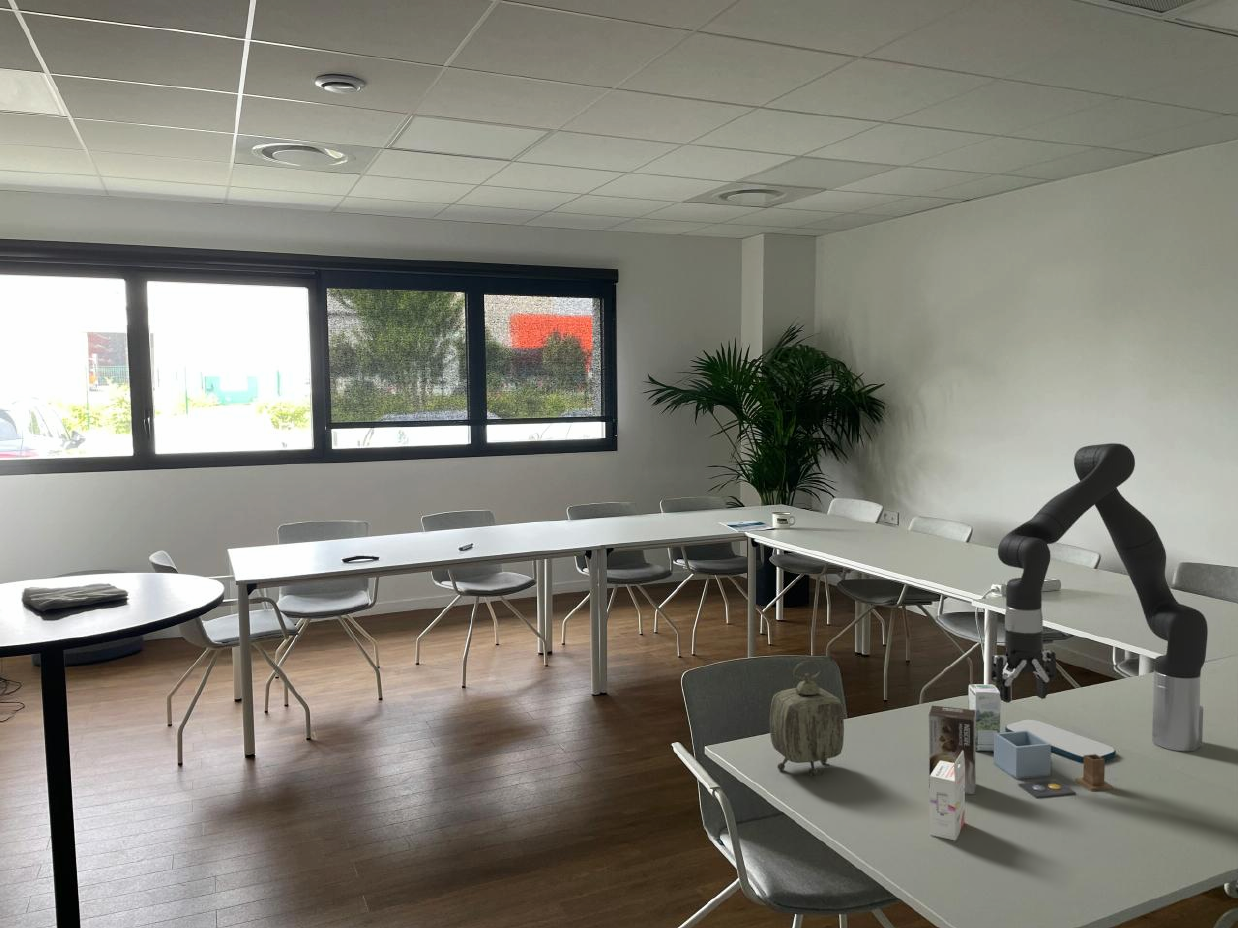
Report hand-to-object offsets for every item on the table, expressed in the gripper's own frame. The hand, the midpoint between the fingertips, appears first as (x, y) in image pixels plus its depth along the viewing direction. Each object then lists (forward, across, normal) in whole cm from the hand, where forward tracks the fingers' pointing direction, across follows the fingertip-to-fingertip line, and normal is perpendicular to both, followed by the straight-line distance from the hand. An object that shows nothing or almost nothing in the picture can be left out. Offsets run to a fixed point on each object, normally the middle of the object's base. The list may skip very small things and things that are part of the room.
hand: (1023, 699), depth 194 cm
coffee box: (+16, +19, +4) cm, 25 cm away
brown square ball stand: (+16, -10, +10) cm, 21 cm away
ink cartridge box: (+16, +30, +21) cm, 40 cm away
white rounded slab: (+17, -17, -11) cm, 26 cm away
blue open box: (+16, 0, 0) cm, 16 cm away
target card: (+16, +1, +10) cm, 19 cm away
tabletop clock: (+15, +46, -10) cm, 50 cm away
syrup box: (+16, +1, -13) cm, 21 cm away
